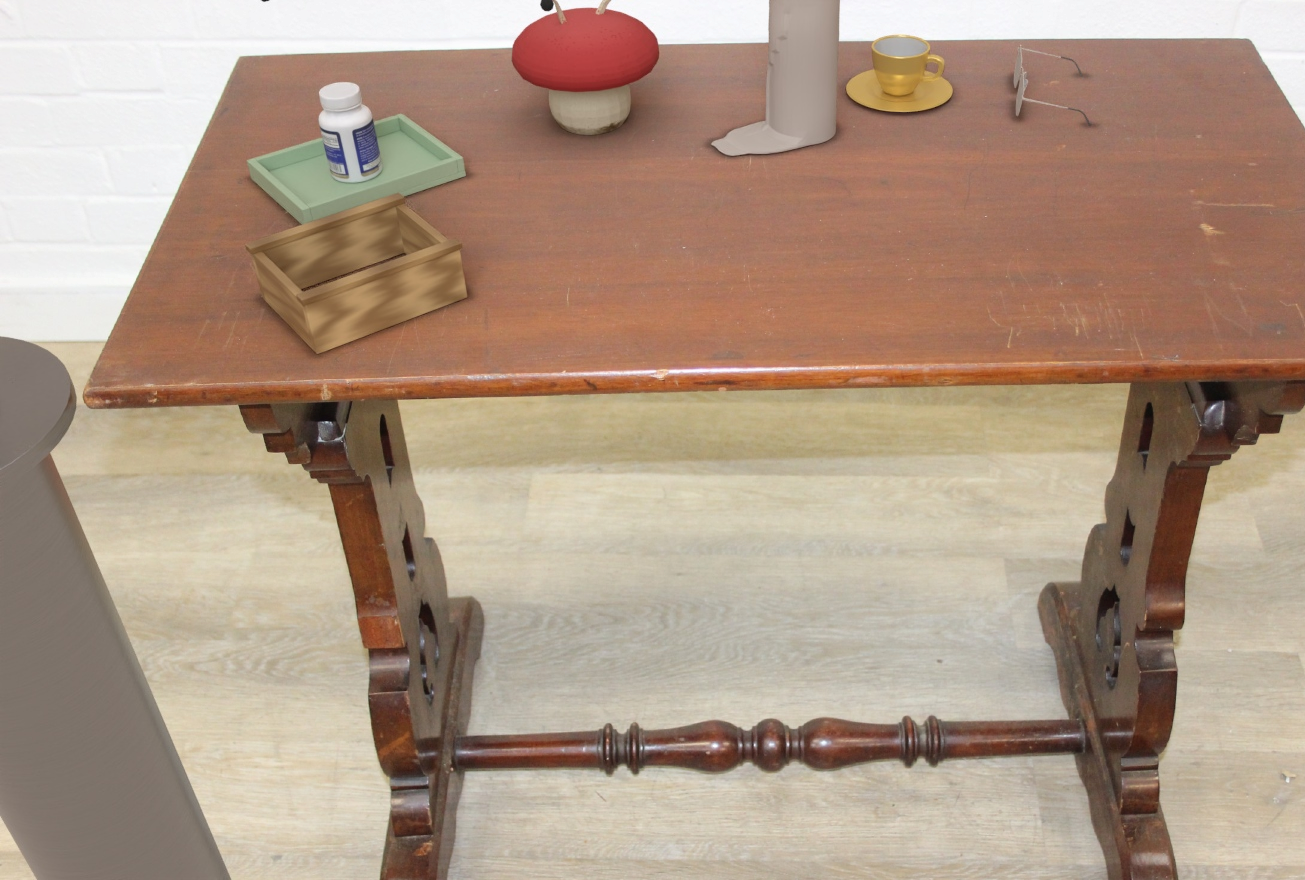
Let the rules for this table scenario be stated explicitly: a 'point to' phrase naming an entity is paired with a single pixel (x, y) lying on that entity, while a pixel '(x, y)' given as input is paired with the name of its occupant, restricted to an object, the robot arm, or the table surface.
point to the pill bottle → (348, 134)
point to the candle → (795, 80)
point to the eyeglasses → (1024, 82)
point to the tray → (316, 194)
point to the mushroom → (586, 63)
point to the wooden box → (366, 295)
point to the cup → (901, 77)
